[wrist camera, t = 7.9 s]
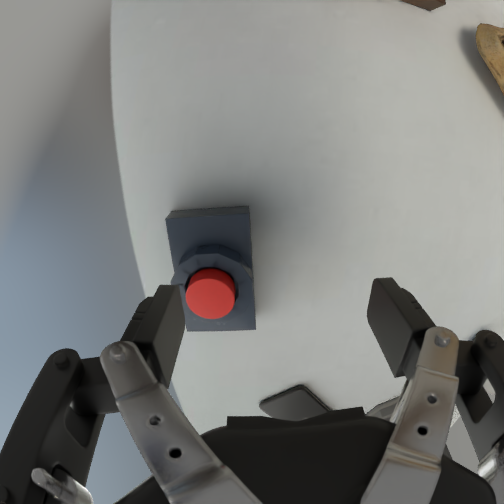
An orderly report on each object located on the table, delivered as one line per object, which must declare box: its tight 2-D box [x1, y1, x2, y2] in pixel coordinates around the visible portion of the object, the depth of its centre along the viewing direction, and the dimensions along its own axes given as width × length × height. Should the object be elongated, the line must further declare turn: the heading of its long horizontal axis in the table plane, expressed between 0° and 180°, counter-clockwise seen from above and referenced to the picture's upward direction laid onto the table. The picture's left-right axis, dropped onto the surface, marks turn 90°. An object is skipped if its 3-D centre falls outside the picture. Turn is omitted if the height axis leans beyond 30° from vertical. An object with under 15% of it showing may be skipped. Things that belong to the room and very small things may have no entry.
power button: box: [186, 268, 235, 319], centre depth 24 cm, size 4×4×2 cm
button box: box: [165, 206, 256, 331], centre depth 27 cm, size 12×7×4 cm, turn 3°
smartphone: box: [259, 386, 330, 421], centre depth 39 cm, size 7×1×15 cm
